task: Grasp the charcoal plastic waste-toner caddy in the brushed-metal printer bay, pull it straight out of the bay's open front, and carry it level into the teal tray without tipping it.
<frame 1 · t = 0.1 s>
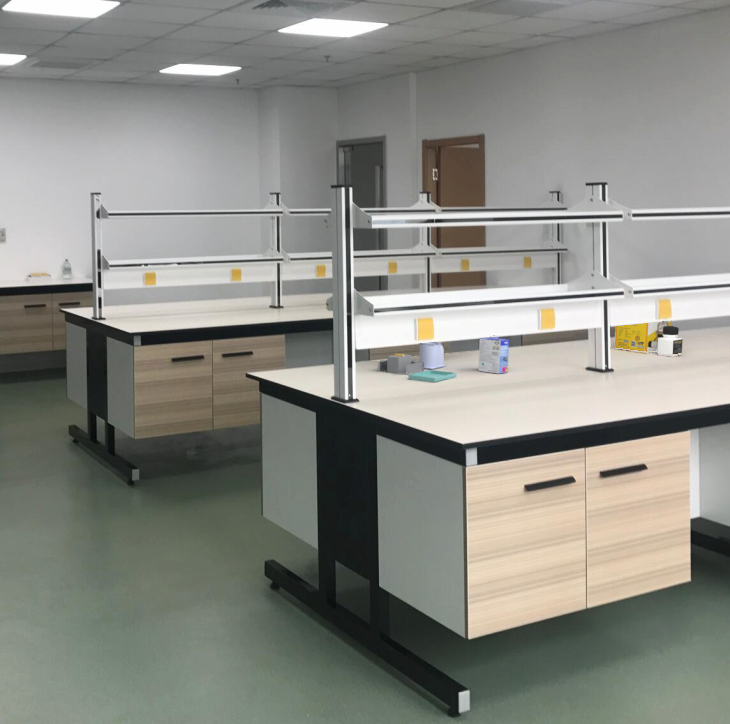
hand: (399, 313, 343), 22 cm above the table, tool horizontal, fingers open, 7 cm apart
teal tray: (432, 378, 338), on the table
medicine bottle: (669, 356, 394), on the table
printer bay: (399, 371, 352), on the table
packaging box: (642, 350, 410), on the table
ink cartridge box: (493, 372, 352), on the table
toner caddy: (399, 372, 352), on the table
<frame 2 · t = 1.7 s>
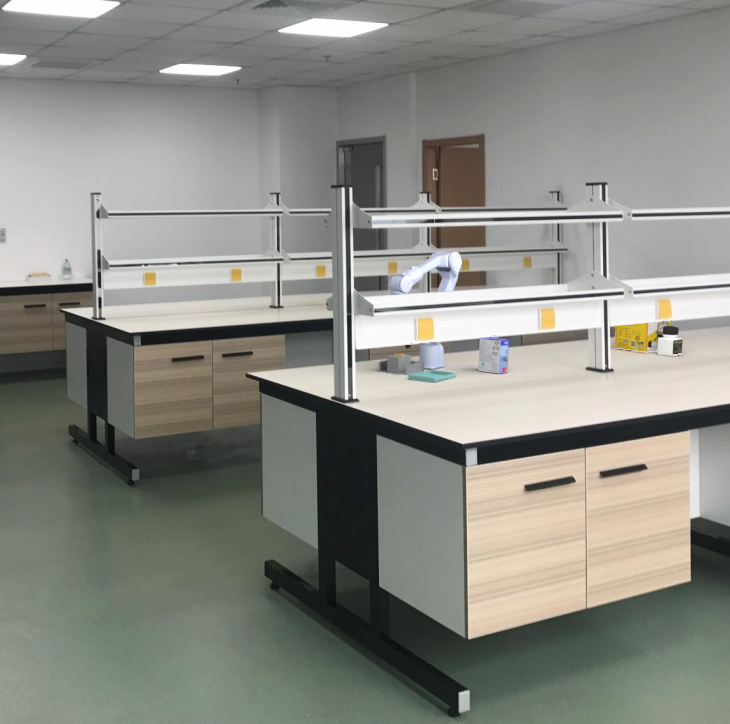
hand: (399, 347, 350), 9 cm above the table, tool pointing down, fingers open, 7 cm apart
nothing on the table moved.
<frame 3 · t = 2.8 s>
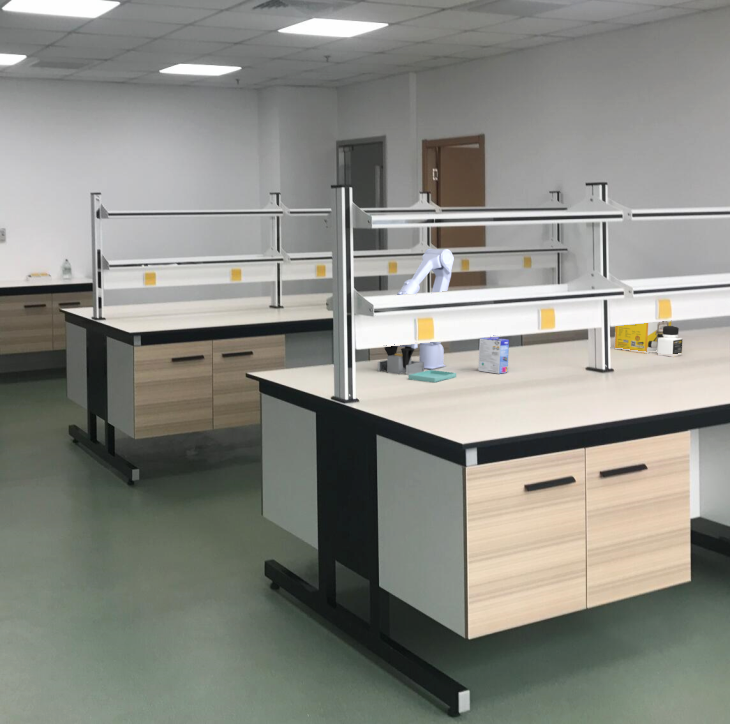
hand: (399, 366, 351), 2 cm above the table, tool pointing down, fingers closed on toner caddy, 5 cm apart
toner caddy: (399, 371, 352), on the table, touching gripper
everything else where it was.
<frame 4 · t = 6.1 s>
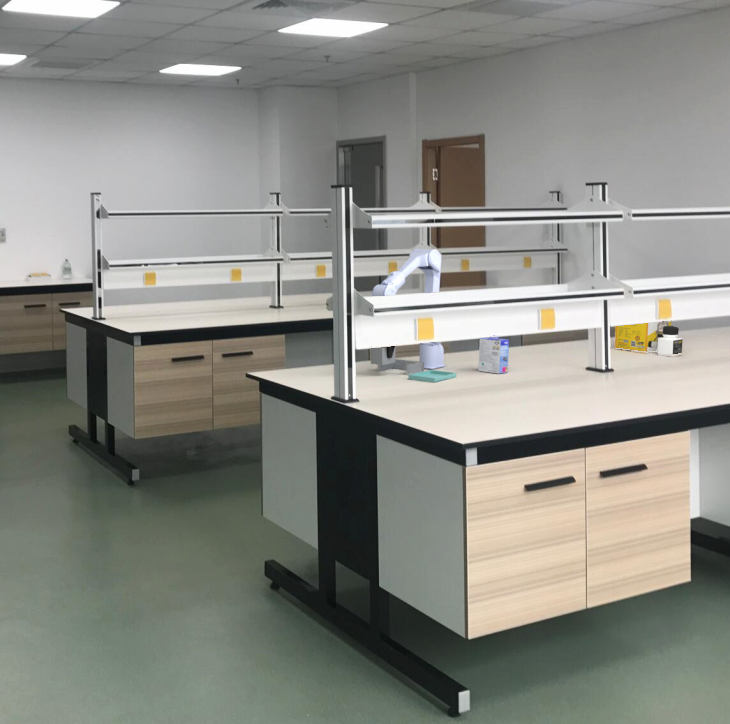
hand: (383, 357, 343), 7 cm above the table, tool pointing down, fingers closed on toner caddy, 5 cm apart
toner caddy: (383, 363, 343), point 4 cm above the table, touching gripper
everything else where it was.
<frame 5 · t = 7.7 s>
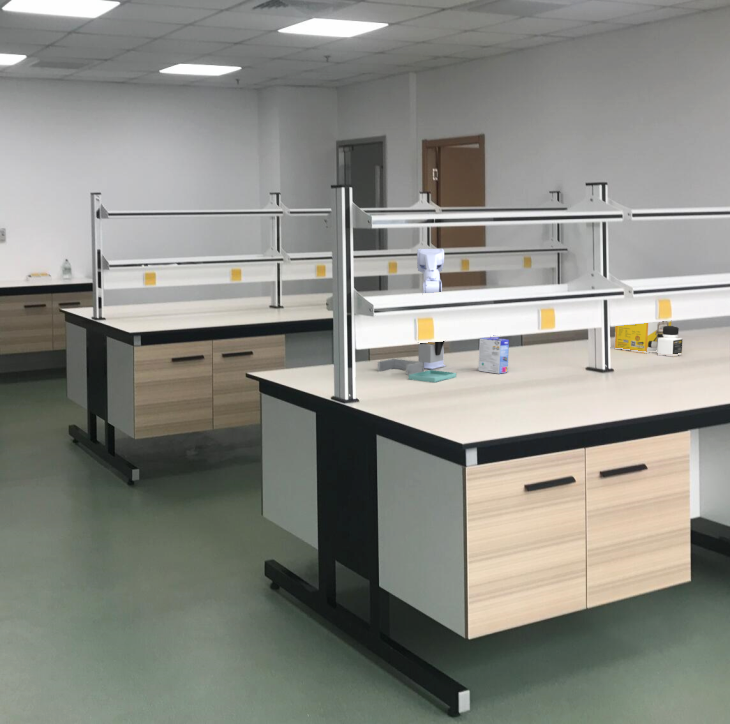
hand: (431, 354, 337), 8 cm above the table, tool pointing down, fingers closed on toner caddy, 5 cm apart
toner caddy: (430, 360, 337), point 6 cm above the table, touching gripper
everything else where it was.
when the fingers open (4 cm above the table, at t = 9.2 s): toner caddy stays where it is, resting on teal tray.
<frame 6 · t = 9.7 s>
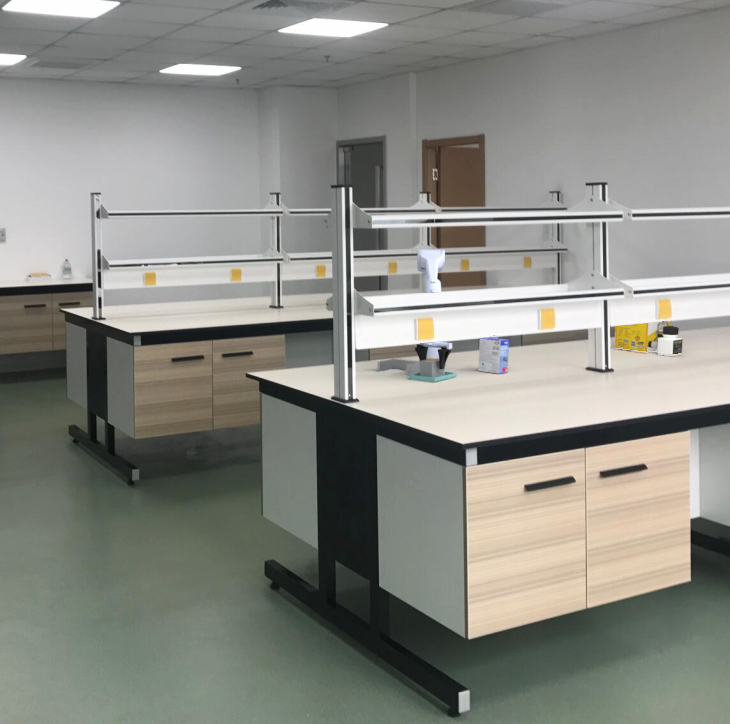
hand: (432, 367, 338), 4 cm above the table, tool pointing down, fingers open, 7 cm apart
toner caddy: (432, 377, 338), resting on teal tray
everything else where it was.
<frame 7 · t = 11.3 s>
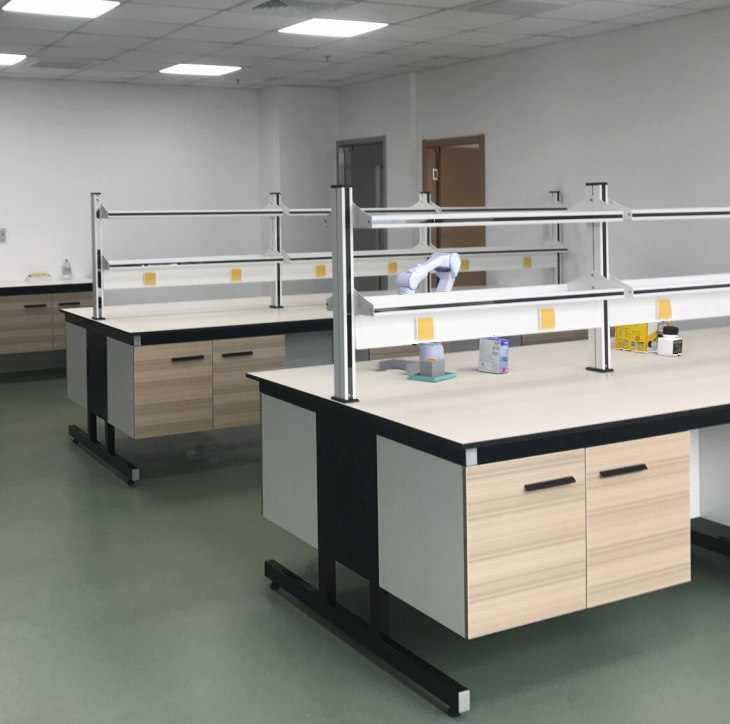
hand: (405, 344, 349), 10 cm above the table, tool pointing down, fingers open, 7 cm apart
nothing on the table moved.
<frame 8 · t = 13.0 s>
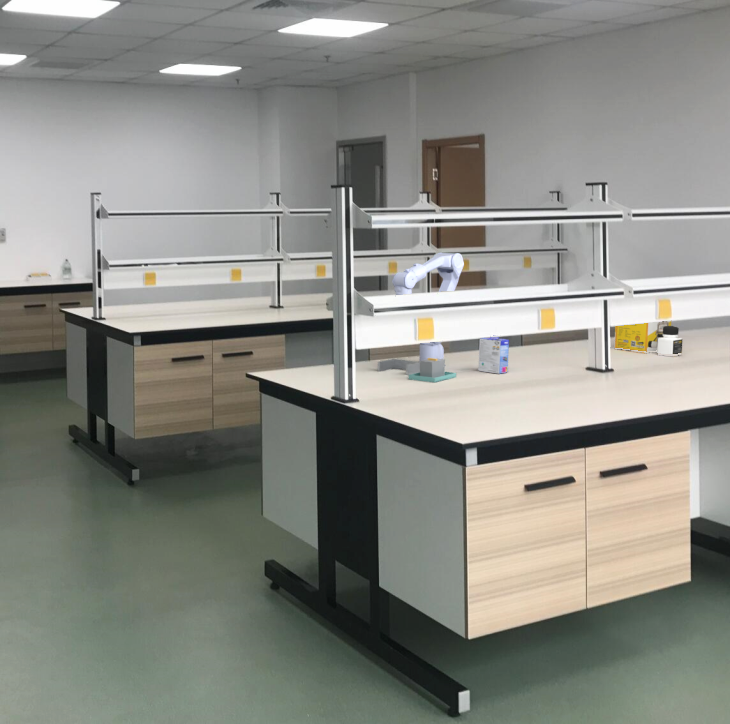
hand: (402, 343, 350), 10 cm above the table, tool pointing down, fingers open, 7 cm apart
nothing on the table moved.
at the end: toner caddy 0.1 cm off-centre on the teal tray, point 0.4 cm above the teal tray's base; toner caddy tilted 0°; the gripper is holding nothing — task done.
